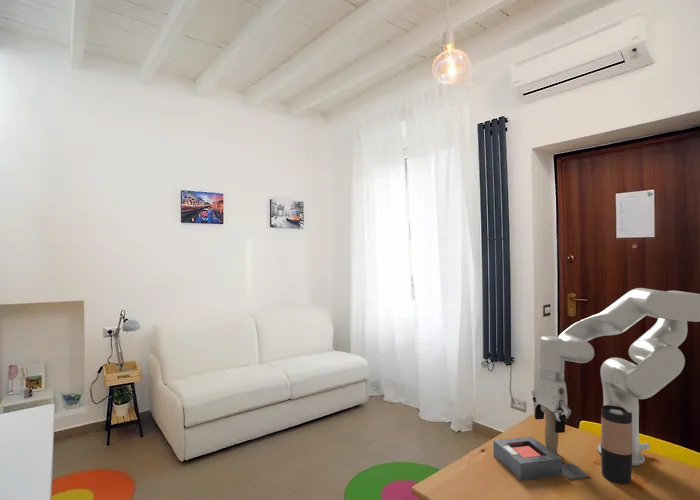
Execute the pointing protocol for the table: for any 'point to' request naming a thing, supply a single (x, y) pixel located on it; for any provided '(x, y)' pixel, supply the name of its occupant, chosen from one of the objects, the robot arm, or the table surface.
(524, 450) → the button
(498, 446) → the grey shallow box
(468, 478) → the table surface
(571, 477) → the mat
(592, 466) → the table surface
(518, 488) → the table surface
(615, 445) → the travel mug
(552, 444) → the handle
